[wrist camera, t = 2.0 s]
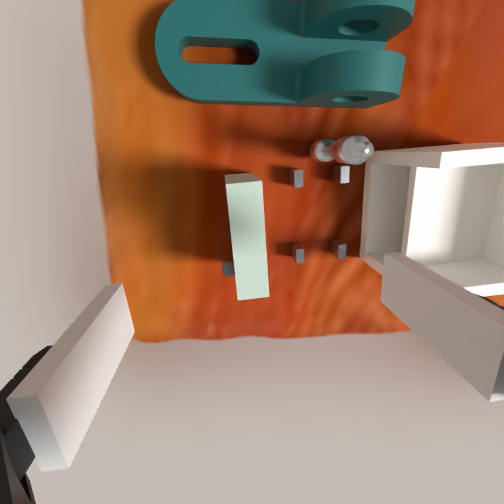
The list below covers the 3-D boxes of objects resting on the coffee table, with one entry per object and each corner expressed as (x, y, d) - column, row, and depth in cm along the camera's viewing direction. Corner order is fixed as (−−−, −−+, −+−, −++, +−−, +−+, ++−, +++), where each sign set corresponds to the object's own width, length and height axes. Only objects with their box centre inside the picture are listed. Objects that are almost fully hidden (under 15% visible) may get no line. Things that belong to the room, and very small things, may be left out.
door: (214, 175, 27) (210, 185, 19) (250, 172, 27) (262, 180, 19) (224, 263, 30) (225, 301, 22) (257, 260, 30) (269, 296, 22)
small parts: (288, 142, 26) (325, 137, 17) (341, 138, 26) (407, 131, 17) (291, 256, 30) (323, 304, 21) (338, 251, 30) (389, 296, 21)
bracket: (376, 19, 24) (445, -40, 16) (364, 108, 26) (420, 92, 19) (156, 6, 22) (124, -67, 15) (165, 103, 24) (140, 82, 17)
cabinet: (366, 151, 27) (442, 152, 18) (463, 143, 28) (586, 139, 18) (359, 257, 31) (419, 304, 22) (445, 248, 32) (540, 289, 22)
